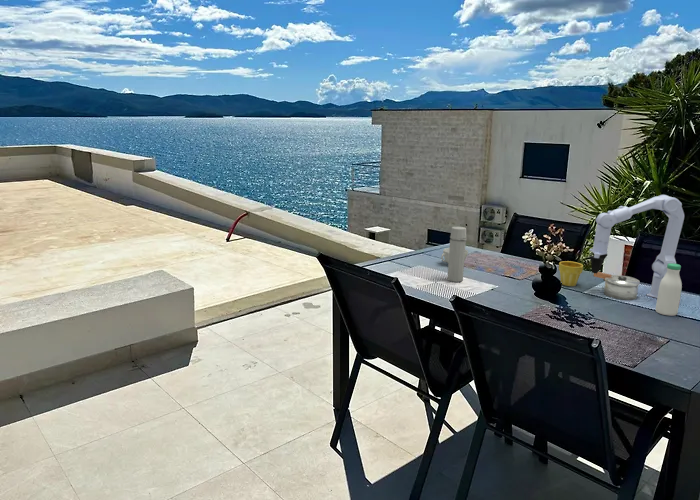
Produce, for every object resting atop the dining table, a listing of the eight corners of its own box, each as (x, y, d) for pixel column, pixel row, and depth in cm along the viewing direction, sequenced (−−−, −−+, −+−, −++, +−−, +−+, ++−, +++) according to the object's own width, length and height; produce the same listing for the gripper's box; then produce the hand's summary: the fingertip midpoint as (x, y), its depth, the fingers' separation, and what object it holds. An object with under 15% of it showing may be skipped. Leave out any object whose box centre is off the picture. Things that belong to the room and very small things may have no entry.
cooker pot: (643, 299, 233) (645, 286, 232) (615, 300, 232) (617, 287, 230) (617, 286, 251) (619, 274, 249) (591, 287, 249) (592, 275, 248)
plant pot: (582, 288, 247) (585, 267, 245) (558, 286, 249) (561, 265, 247) (578, 282, 257) (580, 261, 255) (555, 280, 259) (557, 260, 257)
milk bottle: (676, 317, 213) (685, 268, 208) (654, 313, 217) (662, 265, 212) (677, 312, 219) (686, 264, 214) (655, 308, 223) (663, 260, 218)
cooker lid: (644, 282, 237) (645, 277, 237) (632, 288, 228) (633, 283, 228) (600, 273, 250) (601, 268, 250) (587, 278, 241) (588, 273, 241)
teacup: (457, 261, 290) (458, 246, 288) (472, 266, 279) (473, 251, 277) (433, 263, 284) (434, 248, 282) (447, 269, 273) (448, 254, 271)
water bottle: (456, 283, 250) (460, 230, 244) (443, 279, 255) (446, 227, 249) (469, 280, 256) (473, 228, 250) (455, 276, 261) (459, 225, 255)
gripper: (594, 236, 243) (589, 266, 247) (588, 241, 231) (583, 272, 235) (611, 239, 240) (605, 269, 243) (606, 244, 228) (600, 276, 231)
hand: (595, 271), depth 239 cm, fingers open, 7 cm apart
